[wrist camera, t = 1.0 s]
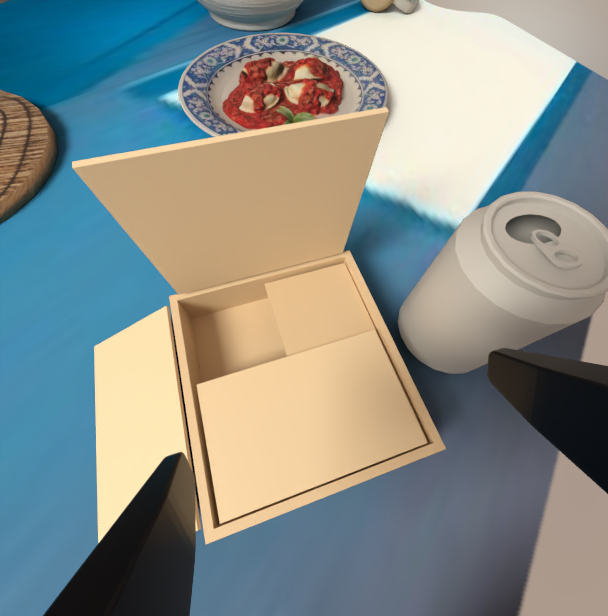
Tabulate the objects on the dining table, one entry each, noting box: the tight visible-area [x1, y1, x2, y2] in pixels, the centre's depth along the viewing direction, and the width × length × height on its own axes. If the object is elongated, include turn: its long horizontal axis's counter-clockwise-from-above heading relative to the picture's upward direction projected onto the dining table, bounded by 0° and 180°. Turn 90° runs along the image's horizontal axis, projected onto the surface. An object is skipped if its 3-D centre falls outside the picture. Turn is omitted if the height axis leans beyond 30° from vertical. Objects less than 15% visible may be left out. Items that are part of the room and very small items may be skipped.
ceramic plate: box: [178, 33, 388, 137], centre depth 37 cm, size 26×26×3 cm
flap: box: [72, 107, 389, 295], centre depth 17 cm, size 1×12×11 cm, turn 106°
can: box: [398, 192, 608, 374], centre depth 19 cm, size 8×8×12 cm
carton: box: [94, 250, 446, 544], centre depth 20 cm, size 15×21×4 cm
